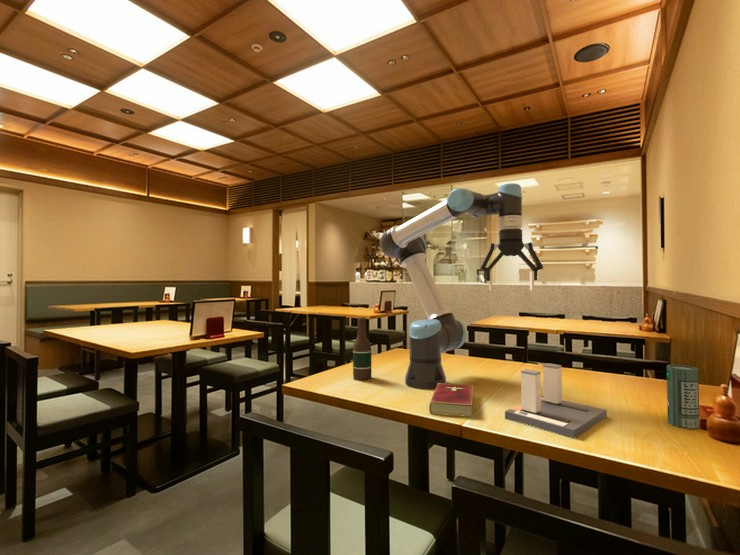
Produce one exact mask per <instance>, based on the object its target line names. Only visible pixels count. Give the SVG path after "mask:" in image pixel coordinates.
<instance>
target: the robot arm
mask: <svg viewBox="0 0 740 555" xmlns="http://www.w3.org/2000/svg"><path fill="white" fill-rule="evenodd" d="M522 195H523V194H522V186H521V185H520V184H518V183H514V182H513V183H512V182H511V183H505V184H501V185H500V186H498V190H497V192H495V193H489V194H482V193H481V192H476V191H473V190H470V189H467V188H461V187H456V188H454V189H452V190H451V191H450V193H449V194H448V196H447V198H446V199H444V200H443V201H441V202H439V203H437V204H436V205H434V206H433V207H431V208H429V209H426V210H425V211H424V212H422V213H419V214H418V215H416V216H415V217H413V218H411V219H409V220H407V221H405V222H404V223H403V224H400V225H393V226H392V227H390V228H389V229H387V230H386V231H384V233H383V234H382V235H381V237H380V239H379V248H380V251H381V252H382V253H383V255H385V256H386V257H388V258H391V259H398V260H399V263H400V265H401V268H404V269H406V271H407V273H408V276H409V278H410V280H411V282H412V285H413V288H414V290H415V291H416V294H417V297H418V300H419V301H420V304H421V307H422V309H423V311H424V313H425V316H426V317H427V318H424V319H418V320H415V321H413V322H411V323H410V325H409V333H408V336H409V343H408V344H409V364H408V368H407V371H406V374H405V377H404V378H405V379H404V380H405V381H404V382H405V385H407V386H408V387H411V388H416V389H423V390H424V389H427V390H428V389H436V387H437V384H438V383H445V384H447V377H446V374H445V370H444V367H443V364H442V353H444V352H448V351H454V350H456V349H459V348H461V347H462V346H463V345H464V343H465V342H466V339H467V329H466V327H465V325H464V324H463V323H462V322H461V321H459V320H457V319H456V318H455V316H454V315H455V314H454V313H453V312H452V311H450V310H448V309H447V306H446V304H445V303H444V301H443V298H442V296H441V294H440V291H439V289H438V287H437V285H436V282H435V280H434V278H433V276H432V273H431V271H430V269H429V267H428V264H427V262H426V258H427V248H428V246H427V245H428V244H427V242H426V240H425V238H424V237H423V236H425V234H428V233H430V232H432V231H434V230H435V229H437V228H439V227H441V226H443V225H444V224H447V223H449V222H451V221H453V220H455V219H456V218H458V217H461V216H463V215H464V214H467V215H468V216H469V217H470V218H483V217H487V216H488V217H489V216H493V215H498V229H499V232H498V239H499V240H498V241H499V242H498V243H493V242H492V243H490V245H489V250H488V253H487V254H486V256H485V258H484V260H483V263H482V264H481V267H480V270H481V271H484V272H485V279H486V282H488V284H489V285H488V287H489V289H488V290H489V291H493V271H491V270H492V269H493V268H494V267H495V266H496V265H497V263H498V262H499V261H500V259H502V258H503V256H505V257H516V256H518V257H519V258H520V259H521V260H522V262H524V263H525V264H526V265H527V266H528V267H529V269H530V270H532V271H529V291H535V281H538V271H541V270H542V269H543V268H544V266H543V264H542V262H541V261H540V258H539V257H538V255H537V253H536V252H535V249H534V245H533V243H532V242H526V243H524V241H523V229H522V227H523V211H522V207H523V205H522V203H523V196H522ZM524 248H525V249H526V250H527V251H528V254H529V255H530V257H531V258H532V260H533V262H534V263H533V262H532V261H531V260H530V259H529V258H528V257H527V255H525V253H524V252H523V251H522V250H523V249H524ZM497 249H498V250H499V253H498V254H497V256H496V257H495V258H494V259H493V260H492V262H490V264H489V265H488V263H489V261H490V260H491V259H490V258H491V256H492V255H493V253H494V251H495V250H497ZM487 265H488V266H487Z"/></svg>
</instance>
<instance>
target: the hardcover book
mask: <svg viewBox="0 0 740 555" xmlns="http://www.w3.org/2000/svg"><path fill="white" fill-rule="evenodd" d="M433 392H434V393H433V394H432V397H431V400H430V402H429V408H428V409H429V414H430V415H432V414H434V415H442V414H447V415H446V416H453V415H459V416H458V417H465V416H471V417H472V411H471V410H472V407H473V401H474V385H472V384H459V383H458V384H457V383H446V384H445V383H438V384H437V387H436V388H434V391H433ZM461 415H462V416H461ZM463 415H464V416H463Z"/></svg>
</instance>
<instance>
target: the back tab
mask: <svg viewBox="0 0 740 555" xmlns="http://www.w3.org/2000/svg"><path fill="white" fill-rule="evenodd" d="M542 370H543V371H542V374H543V377H542V380H543V381H542V382H543V383H542V384H543V389H542V390H543V396H544V401H547V402H552V403H556V404H558V403H560V402H562V400H563V384H562V383H563V379H562V375H563V374H562V372H563V370H562V365H560V364H556V363H544V364H542Z"/></svg>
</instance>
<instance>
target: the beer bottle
mask: <svg viewBox="0 0 740 555" xmlns="http://www.w3.org/2000/svg"><path fill="white" fill-rule="evenodd" d="M366 321H367V318H366V317H363V316H362V317H361V316H359V317H357V334H356V338H355V340H354V342H353V345H352V346H353V348H352V375H353V377H352V378H353V380H355V379H356V380H355V381H368V380H371V379H372V345H371V342H370V340H369V338H368V337H367V336H368V334H367V323H366Z"/></svg>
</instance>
